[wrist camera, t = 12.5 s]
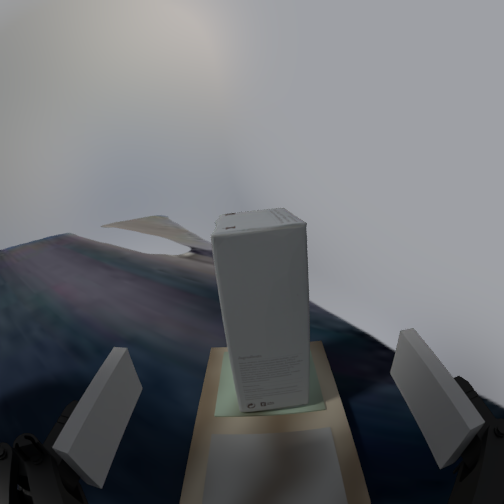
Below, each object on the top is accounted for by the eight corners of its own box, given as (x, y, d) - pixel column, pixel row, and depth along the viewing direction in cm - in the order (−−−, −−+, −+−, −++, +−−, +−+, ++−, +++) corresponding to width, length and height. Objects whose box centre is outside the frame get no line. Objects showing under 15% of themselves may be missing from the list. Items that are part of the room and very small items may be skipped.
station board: (176, 547, 9) (171, 543, 8) (212, 354, 30) (211, 346, 29) (373, 536, 8) (378, 532, 8) (320, 347, 29) (321, 339, 29)
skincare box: (309, 406, 20) (316, 223, 16) (235, 415, 20) (208, 232, 15) (292, 349, 28) (288, 203, 24) (234, 354, 28) (217, 209, 23)
